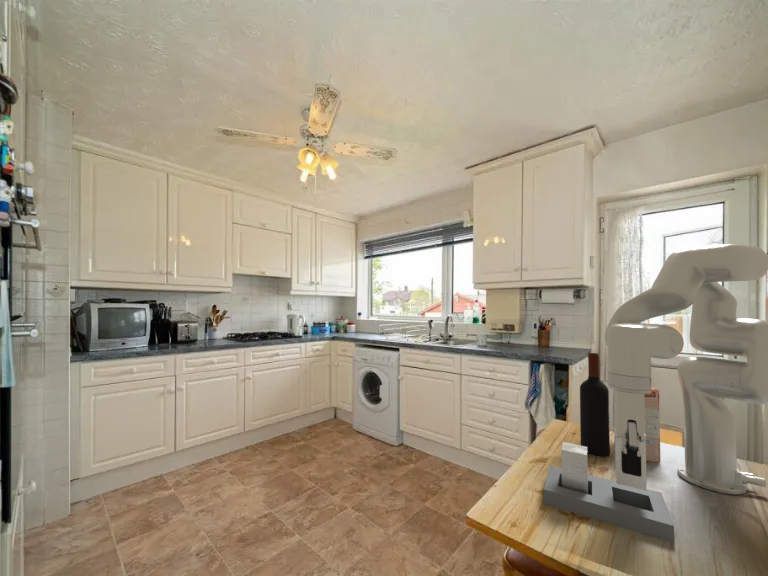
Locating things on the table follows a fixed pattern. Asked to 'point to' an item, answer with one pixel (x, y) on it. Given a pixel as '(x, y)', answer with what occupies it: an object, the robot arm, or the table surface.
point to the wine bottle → (594, 411)
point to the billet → (575, 467)
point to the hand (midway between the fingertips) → (630, 467)
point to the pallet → (612, 504)
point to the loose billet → (619, 475)
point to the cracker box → (652, 425)
